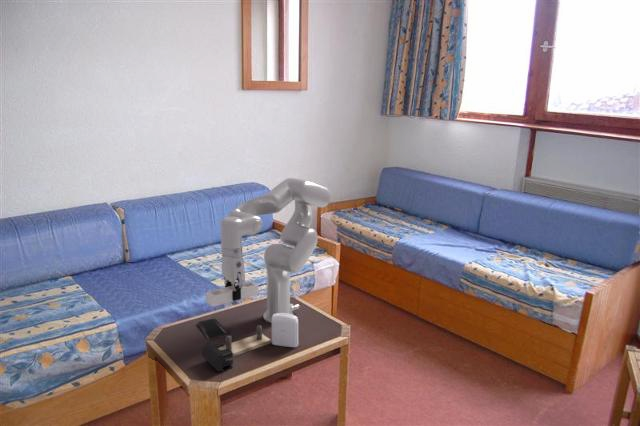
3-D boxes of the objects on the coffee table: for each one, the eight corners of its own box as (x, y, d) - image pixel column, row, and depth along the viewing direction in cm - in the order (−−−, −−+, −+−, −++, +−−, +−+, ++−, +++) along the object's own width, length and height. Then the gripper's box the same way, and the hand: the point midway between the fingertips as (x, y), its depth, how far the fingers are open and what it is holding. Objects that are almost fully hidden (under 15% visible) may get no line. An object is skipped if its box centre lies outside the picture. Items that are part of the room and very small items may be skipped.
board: (260, 335, 193) (260, 321, 192) (271, 342, 188) (271, 327, 187) (216, 351, 181) (216, 335, 180) (226, 359, 176) (225, 343, 175)
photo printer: (269, 345, 186) (269, 314, 183) (273, 339, 190) (273, 309, 187) (296, 349, 184) (296, 318, 181) (299, 343, 188) (300, 313, 185)
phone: (215, 318, 206) (228, 333, 193) (215, 320, 206) (228, 336, 193) (196, 322, 202) (208, 338, 189) (196, 324, 202) (208, 340, 189)
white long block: (251, 290, 194) (251, 279, 193) (258, 294, 190) (258, 283, 189) (206, 302, 183) (205, 290, 181) (212, 306, 179) (211, 295, 178)
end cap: (201, 362, 174) (200, 345, 172) (219, 356, 178) (219, 339, 177) (215, 375, 166) (214, 357, 165) (233, 368, 171) (233, 350, 169)
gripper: (252, 255, 177) (253, 302, 182) (230, 243, 190) (231, 287, 195) (233, 259, 173) (235, 307, 177) (212, 246, 186) (213, 292, 190)
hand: (233, 296), depth 186 cm, fingers closed on white long block, 5 cm apart
